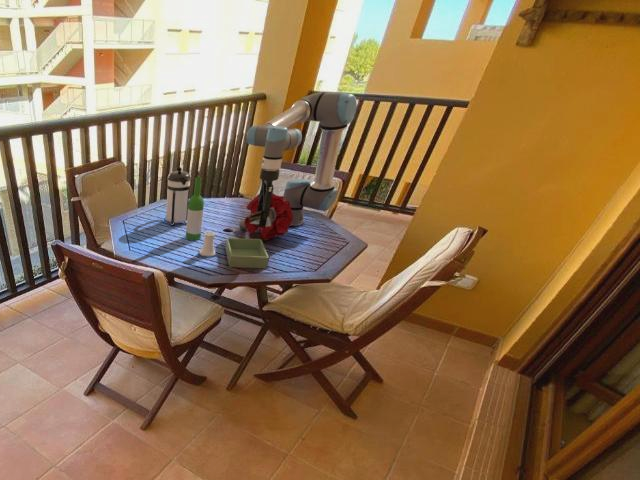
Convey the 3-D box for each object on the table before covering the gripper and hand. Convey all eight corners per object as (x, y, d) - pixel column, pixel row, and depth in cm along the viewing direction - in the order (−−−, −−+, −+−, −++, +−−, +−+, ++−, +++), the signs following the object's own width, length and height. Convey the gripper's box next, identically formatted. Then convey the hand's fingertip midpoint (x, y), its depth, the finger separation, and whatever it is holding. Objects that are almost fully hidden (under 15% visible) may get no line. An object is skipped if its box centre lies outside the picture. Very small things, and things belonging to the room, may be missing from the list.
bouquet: (230, 248, 209) (275, 236, 183) (223, 204, 206) (267, 185, 179) (259, 243, 219) (305, 231, 192) (252, 200, 216) (298, 182, 189)
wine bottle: (188, 234, 209) (193, 175, 191) (202, 236, 205) (208, 177, 188) (183, 239, 203) (187, 179, 186) (197, 241, 200) (203, 181, 182)
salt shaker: (211, 257, 183) (214, 237, 177) (196, 254, 186) (198, 234, 180) (217, 252, 188) (220, 232, 182) (203, 249, 192) (205, 229, 186)
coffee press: (194, 220, 226) (199, 165, 209) (182, 228, 215) (186, 171, 198) (167, 215, 234) (170, 162, 216) (155, 223, 223) (156, 167, 205)
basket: (225, 248, 193) (226, 237, 190) (259, 249, 191) (261, 239, 188) (229, 266, 175) (230, 256, 172) (266, 268, 174) (269, 257, 171)
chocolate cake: (243, 225, 174) (265, 210, 164) (246, 216, 178) (268, 201, 168) (257, 239, 177) (279, 225, 167) (260, 229, 181) (282, 216, 171)
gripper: (257, 163, 169) (248, 214, 183) (265, 175, 152) (255, 231, 165) (275, 163, 168) (265, 214, 182) (285, 175, 151) (273, 231, 164)
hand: (260, 222), depth 173 cm, fingers closed on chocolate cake, 9 cm apart
